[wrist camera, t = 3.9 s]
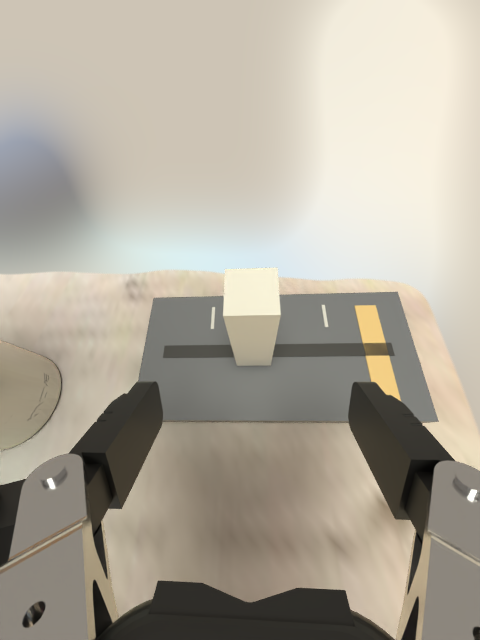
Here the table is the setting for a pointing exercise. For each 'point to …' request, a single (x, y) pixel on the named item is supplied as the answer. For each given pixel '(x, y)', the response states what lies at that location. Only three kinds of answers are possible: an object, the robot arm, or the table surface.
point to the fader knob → (252, 314)
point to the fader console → (283, 360)
